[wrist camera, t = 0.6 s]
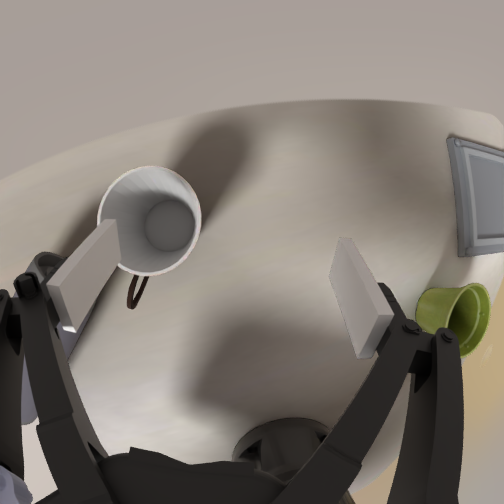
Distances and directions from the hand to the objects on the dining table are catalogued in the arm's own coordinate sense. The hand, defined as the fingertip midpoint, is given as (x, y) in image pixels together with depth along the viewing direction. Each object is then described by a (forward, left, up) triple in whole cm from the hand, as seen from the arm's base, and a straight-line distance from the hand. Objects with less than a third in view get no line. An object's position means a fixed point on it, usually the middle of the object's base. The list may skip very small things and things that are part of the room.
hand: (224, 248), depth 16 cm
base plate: (+5, -43, -15) cm, 46 cm away
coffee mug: (+1, +7, -16) cm, 17 cm away
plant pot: (-11, -28, -16) cm, 34 cm away
